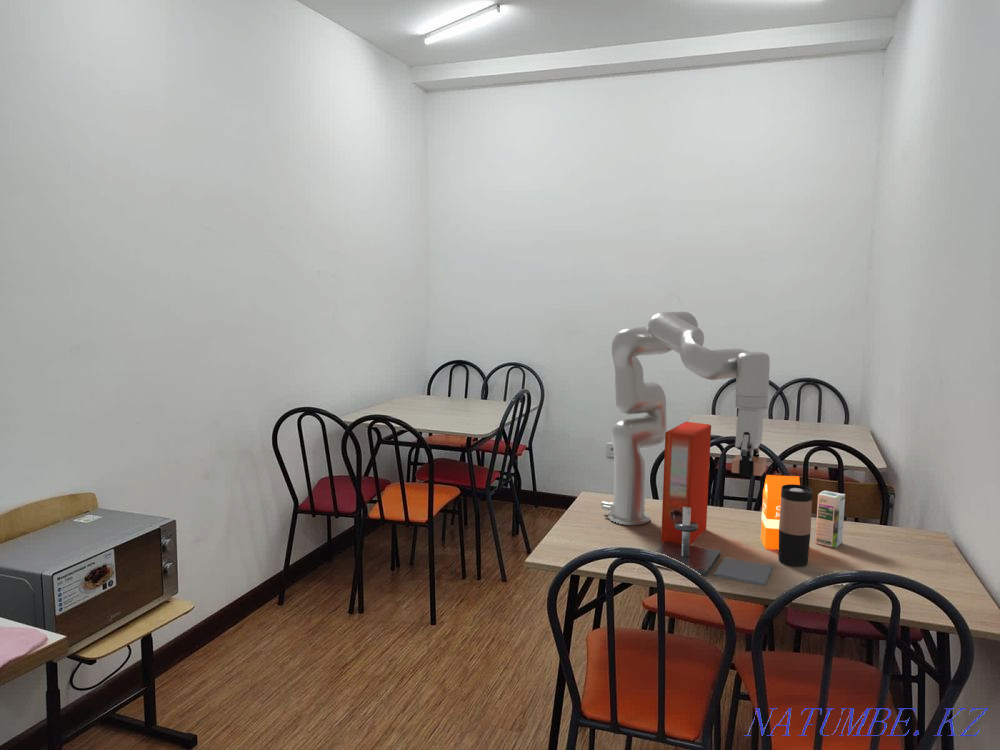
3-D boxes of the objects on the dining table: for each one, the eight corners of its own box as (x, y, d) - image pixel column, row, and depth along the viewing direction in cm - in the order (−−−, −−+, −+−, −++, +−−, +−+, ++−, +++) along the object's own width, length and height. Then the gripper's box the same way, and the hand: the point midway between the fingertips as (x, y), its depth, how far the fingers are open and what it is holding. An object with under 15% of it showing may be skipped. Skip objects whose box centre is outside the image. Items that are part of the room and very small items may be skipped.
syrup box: (814, 543, 198) (817, 493, 197) (821, 538, 203) (824, 489, 201) (835, 548, 195) (839, 498, 193) (842, 543, 199) (846, 493, 197)
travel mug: (773, 556, 190) (776, 484, 187) (801, 556, 189) (805, 484, 187) (783, 567, 182) (787, 492, 179) (813, 567, 182) (817, 492, 179)
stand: (648, 564, 184) (650, 511, 182) (665, 546, 197) (666, 495, 195) (706, 576, 177) (709, 520, 175) (720, 556, 190) (722, 504, 188)
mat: (714, 575, 177) (714, 573, 177) (724, 559, 188) (724, 557, 187) (764, 585, 171) (764, 583, 171) (772, 568, 182) (772, 565, 182)
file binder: (707, 529, 210) (711, 424, 205) (689, 548, 195) (693, 435, 191) (680, 524, 214) (684, 421, 210) (661, 542, 200) (664, 432, 195)
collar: (731, 472, 174) (732, 460, 174) (737, 466, 180) (737, 454, 180) (761, 476, 171) (761, 464, 171) (766, 469, 177) (766, 457, 177)
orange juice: (798, 551, 193) (802, 480, 190) (764, 548, 195) (768, 478, 192) (792, 541, 201) (796, 472, 198) (760, 538, 202) (763, 471, 200)
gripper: (742, 396, 183) (740, 463, 185) (728, 406, 168) (725, 479, 170) (773, 398, 179) (770, 466, 181) (761, 408, 164) (758, 483, 166)
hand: (749, 471), depth 176 cm, fingers closed on collar, 7 cm apart
